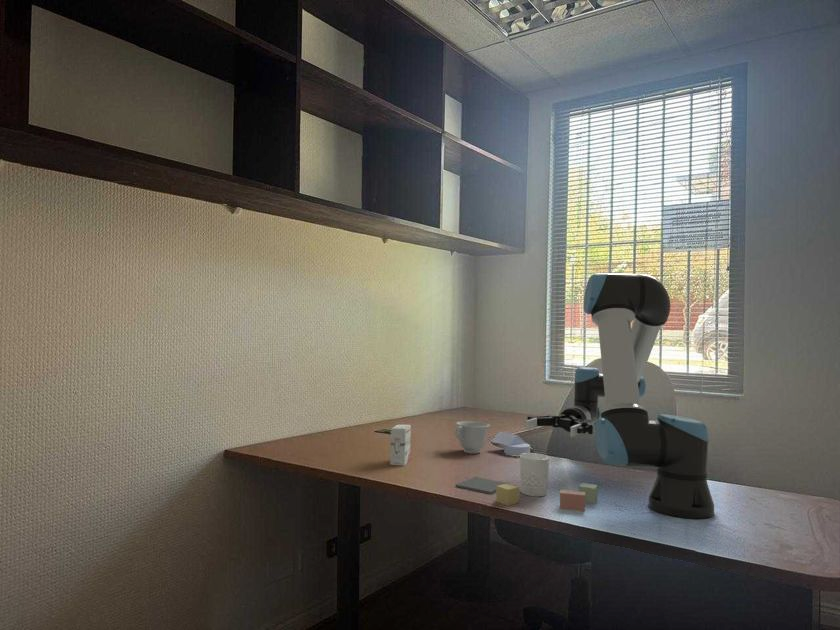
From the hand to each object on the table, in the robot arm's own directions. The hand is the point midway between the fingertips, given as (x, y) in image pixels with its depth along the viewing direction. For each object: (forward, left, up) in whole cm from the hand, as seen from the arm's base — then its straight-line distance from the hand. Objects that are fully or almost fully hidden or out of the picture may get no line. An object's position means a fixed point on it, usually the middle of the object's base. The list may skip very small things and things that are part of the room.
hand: (548, 428), depth 169 cm
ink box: (+48, +6, -16) cm, 51 cm away
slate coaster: (+14, +13, -16) cm, 25 cm away
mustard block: (+2, +22, -16) cm, 28 cm away
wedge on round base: (+27, -33, -16) cm, 45 cm away
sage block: (-14, +7, -16) cm, 23 cm away
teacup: (+39, -23, -16) cm, 48 cm away
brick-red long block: (-13, +16, -16) cm, 27 cm away
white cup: (0, +10, -16) cm, 19 cm away
